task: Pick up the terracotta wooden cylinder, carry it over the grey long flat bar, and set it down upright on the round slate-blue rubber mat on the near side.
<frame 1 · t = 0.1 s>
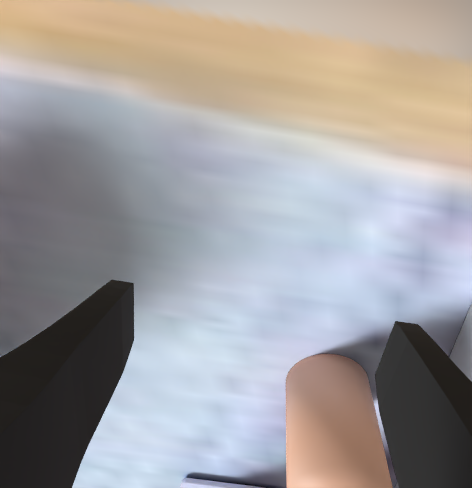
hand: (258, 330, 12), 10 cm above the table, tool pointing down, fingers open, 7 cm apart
terracotta cylinder: (326, 384, 27), on the table
grey long flat bar: (442, 397, 26), on the table
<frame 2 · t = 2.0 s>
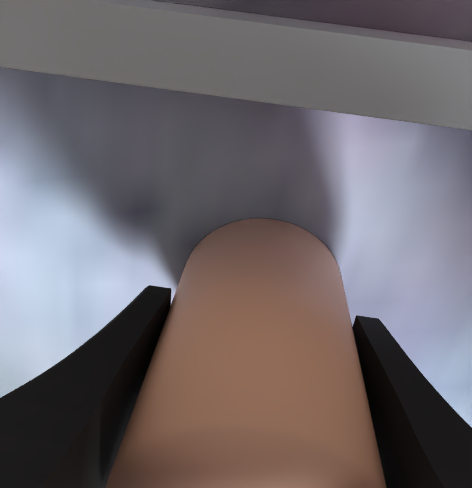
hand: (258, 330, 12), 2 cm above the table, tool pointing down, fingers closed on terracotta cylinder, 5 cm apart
terracotta cylinder: (261, 289, 14), on the table, touching gripper
grey long flat bar: (302, 49, 10), on the table
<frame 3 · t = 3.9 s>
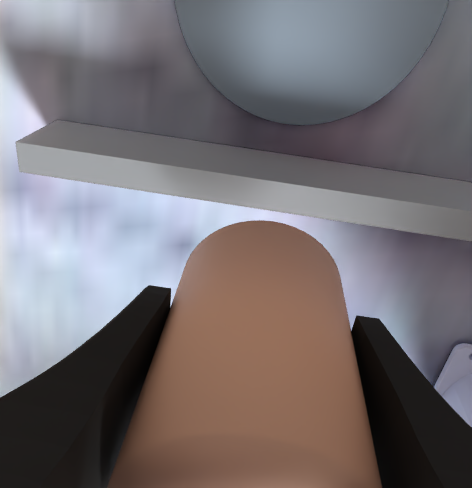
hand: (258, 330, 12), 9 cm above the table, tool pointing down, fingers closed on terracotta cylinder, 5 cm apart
terracotta cylinder: (260, 290, 14), point 8 cm above the table, touching gripper
grey long flat bar: (276, 166, 20), on the table
when the fingers open (4 cm above the table, at t = 6.0 s): terracotta cylinder drops 1 cm, resting on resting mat.
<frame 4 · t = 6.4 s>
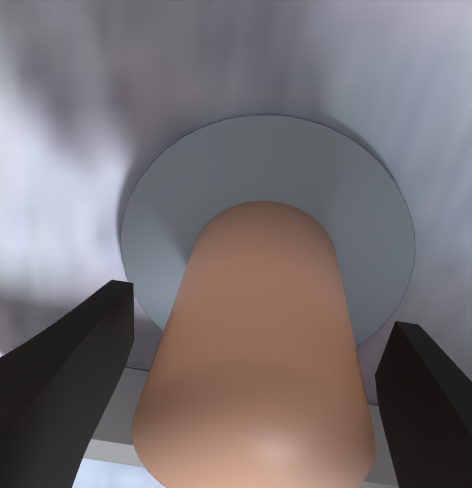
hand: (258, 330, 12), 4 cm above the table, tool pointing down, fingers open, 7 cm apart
terracotta cylinder: (263, 267, 15), resting on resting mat
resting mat: (263, 258, 15), on the table
grey long flat bar: (240, 394, 19), on the table
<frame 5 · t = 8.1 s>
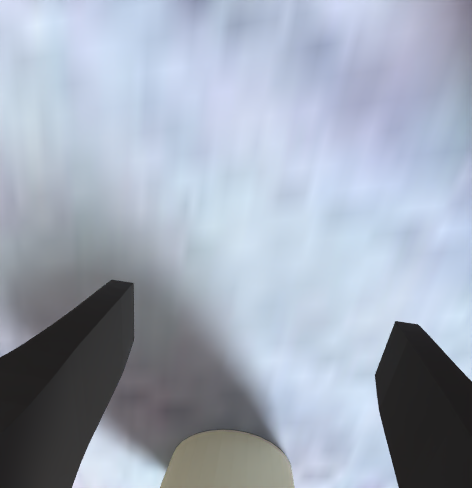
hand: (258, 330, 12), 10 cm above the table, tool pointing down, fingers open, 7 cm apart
reusable coffee cup: (231, 467, 32), on the table
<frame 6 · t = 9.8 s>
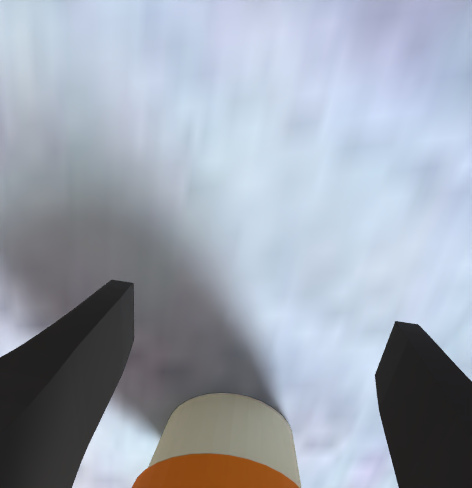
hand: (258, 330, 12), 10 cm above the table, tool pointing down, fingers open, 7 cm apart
reusable coffee cup: (229, 435, 31), on the table
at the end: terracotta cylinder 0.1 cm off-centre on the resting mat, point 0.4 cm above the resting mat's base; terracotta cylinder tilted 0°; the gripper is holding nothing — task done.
